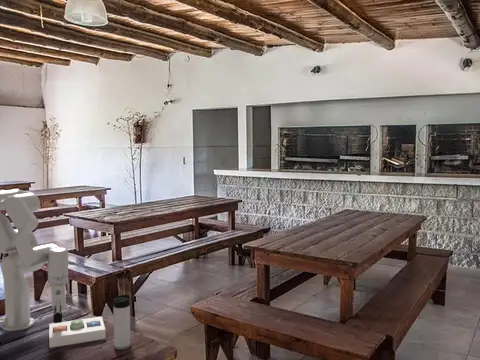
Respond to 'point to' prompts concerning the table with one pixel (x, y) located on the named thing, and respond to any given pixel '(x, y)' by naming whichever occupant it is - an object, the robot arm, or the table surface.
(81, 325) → the sage button
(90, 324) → the slate button
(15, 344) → the table surface
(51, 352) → the table surface
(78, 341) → the button box
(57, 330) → the terracotta button
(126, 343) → the travel mug
